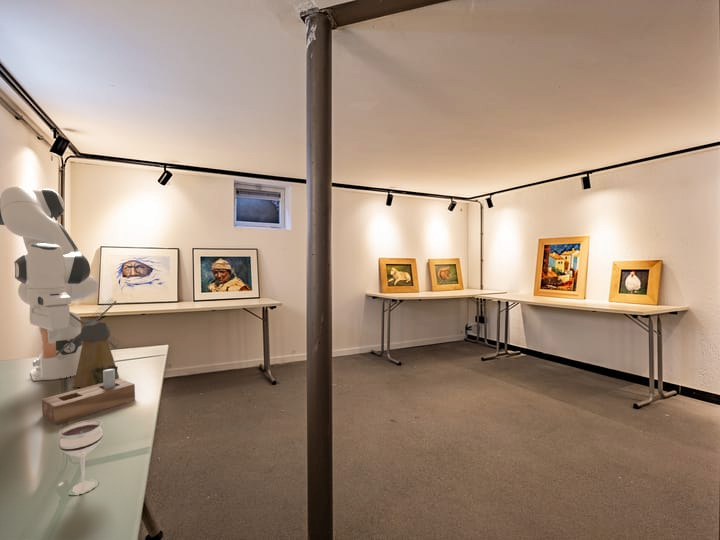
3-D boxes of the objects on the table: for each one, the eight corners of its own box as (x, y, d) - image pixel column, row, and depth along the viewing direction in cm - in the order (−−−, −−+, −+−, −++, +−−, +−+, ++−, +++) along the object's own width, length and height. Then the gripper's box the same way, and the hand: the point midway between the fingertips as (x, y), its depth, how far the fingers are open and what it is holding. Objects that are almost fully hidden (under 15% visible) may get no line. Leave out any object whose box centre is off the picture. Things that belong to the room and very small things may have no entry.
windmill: (120, 370, 143) (117, 296, 141) (138, 376, 135) (135, 298, 134) (52, 387, 125) (49, 302, 123) (69, 395, 117) (65, 304, 116)
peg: (41, 357, 108) (40, 324, 107) (54, 355, 110) (52, 323, 110) (45, 359, 106) (44, 326, 106) (57, 356, 109) (56, 324, 108)
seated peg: (102, 402, 111) (101, 370, 110) (113, 399, 113) (112, 368, 113) (106, 404, 109) (105, 372, 109) (117, 401, 112) (116, 369, 111)
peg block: (42, 416, 101) (41, 399, 101) (120, 393, 118) (119, 378, 118) (55, 424, 96) (54, 406, 96) (135, 399, 113) (134, 384, 112)
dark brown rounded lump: (89, 397, 115) (88, 373, 114) (93, 390, 121) (92, 366, 121) (116, 393, 118) (115, 369, 118) (119, 386, 125) (119, 363, 124)
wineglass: (106, 473, 74) (104, 416, 74) (102, 491, 68) (100, 430, 68) (64, 484, 71) (62, 425, 70) (57, 504, 65) (54, 440, 64)
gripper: (22, 295, 110) (23, 339, 111) (46, 300, 99) (47, 349, 100) (48, 293, 115) (49, 335, 116) (73, 298, 105) (75, 344, 105)
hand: (48, 342), depth 108 cm, fingers closed on peg, 3 cm apart
